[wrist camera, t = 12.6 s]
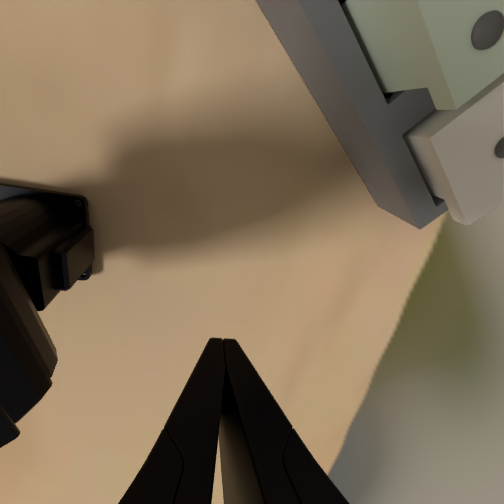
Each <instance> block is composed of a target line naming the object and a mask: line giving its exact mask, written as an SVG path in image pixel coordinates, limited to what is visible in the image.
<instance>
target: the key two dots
mask: <svg viewBox="0 0 504 504" xmlns="http://www.w3.org/2000/svg"><path fill="white" fill-rule="evenodd" d="M340 6H341V8H342V10H343V12H344V14H345V16H346V18H347V20H348V22H349V25H350V27H351V29H352V31H353V33H354V35H355V37H356V39H357V41H358V43H359V46H360V48H361V50H362V52H363V54H364V56H365V58H366V60H367V62H368V64H369V67H370V69H371V71H372V73H373V75H374V77H375V79H376V81H377V83H378V86H379V88H380V90H381V92H382V93H388V92H396V91H403V90H411V89H418V88H426V87H428V90H429V92H430V95H431V97H432V100H433V102H434V105H435V108H436V110H457V109H458V108H459V107H460V106H462V105H463V104H464V103H466V102H467V101H468V100H470V99H471V98H472V97H473V96H475V95H476V94H477V93H479V92H480V91H481V90H483V89H484V88H485V87H486V86H488V85H489V84H490V83H492V82H493V81H494V80H496V79H497V78H498V77H499V76H501V75H502V74H503V73H504V0H346V1H344V2H343V3H342V4H341V5H340Z"/></svg>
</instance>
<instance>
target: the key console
mask: <svg viewBox="0 0 504 504" xmlns="http://www.w3.org/2000/svg"><path fill="white" fill-rule="evenodd" d="M256 2H257V3H258V5H259V7H260V8H261V10H262V12H263V13H264V15H265V17H266V18H267V20H268V22H269V24H270V25H271V27H272V29H273V30H274V32H275V34H276V35H277V37H278V39H279V40H280V42H281V44H282V45H283V47H284V49H285V50H286V52H287V54H288V56H289V57H290V59H291V61H292V62H293V64H294V66H295V67H296V69H297V71H298V72H299V74H300V76H301V77H302V79H303V81H304V82H305V84H306V86H307V88H308V89H309V91H310V93H311V94H312V96H313V98H314V99H315V101H316V103H317V104H318V106H319V108H320V109H321V111H322V113H323V114H324V116H325V118H326V120H327V121H328V123H329V125H330V126H331V128H332V130H333V131H334V133H335V135H336V136H337V138H338V140H339V141H340V143H341V145H342V146H343V148H344V150H345V152H346V153H347V155H348V157H349V158H350V160H351V162H352V163H353V165H354V167H355V168H356V170H357V172H358V173H359V175H360V177H361V178H362V180H363V182H364V183H365V185H366V187H367V189H368V190H369V192H370V194H371V195H372V197H373V199H374V200H375V202H376V204H377V205H378V206H379V207H380V208H382V209H384V210H386V211H388V212H389V213H391V214H393V215H395V216H397V217H398V218H400V219H402V220H404V221H406V222H407V223H409V224H411V225H413V226H415V227H417V228H418V229H421V228H423V227H424V226H426V225H427V224H429V223H430V222H431V221H433V220H434V219H436V218H437V217H439V216H440V215H441V214H443V213H444V212H446V211H447V210H449V209H448V207H447V205H446V203H445V200H444V199H442V198H439V197H436V196H433V195H431V194H430V193H429V191H428V189H427V186H426V184H425V182H424V180H423V178H422V176H421V174H420V172H419V170H418V168H417V165H416V163H415V161H414V159H413V157H412V155H411V153H410V151H409V149H408V146H407V144H406V142H405V140H404V138H403V136H402V135H403V134H404V133H405V132H407V131H408V130H409V129H411V128H412V127H413V126H414V125H416V124H417V123H418V122H419V121H421V120H422V119H423V118H425V117H426V116H427V115H428V114H430V113H431V112H432V111H434V110H435V109H436V108H435V105H434V102H433V100H432V97H431V95H430V92H429V90H428V87H426V88H418V89H411V90H403V91H396V92H393V93H392V94H391V95H390V96H388V97H387V98H386V99H385V98H384V96H383V94H382V92H381V90H380V88H379V86H378V83H377V81H376V79H375V77H374V75H373V73H372V71H371V69H370V67H369V64H368V62H367V60H366V58H365V56H364V54H363V52H362V50H361V48H360V46H359V43H358V41H357V39H356V37H355V35H354V33H353V31H352V29H351V27H350V25H349V22H348V20H347V18H346V16H345V14H344V12H343V10H342V8H341V6H340V4H339V1H338V0H256Z"/></svg>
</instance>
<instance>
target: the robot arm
mask: <svg viewBox="0 0 504 504" xmlns="http://www.w3.org/2000/svg"><path fill="white" fill-rule="evenodd" d="M76 200H78V201H80V202H81V204H82V205H81V206H79V205H77V204H76ZM94 259H95V256H94V237H93V229H92V227H91V226H89V213H88V202H87V200H86V198H85V197H83V196H81V195H76V194H70V193H63V192H56V191H49V190H42V189H35V188H28V187H21V186H15V185H8V184H1V183H0V448H1V447H2V446H4V445H6V444H8V443H9V442H11V441H13V440H14V439H16V438H17V437H18V436H19V434H20V430H19V429H18V428H17V426H16V425H15V424H16V423H17V422H18V421H19V420H20V419H22V418H23V417H24V416H25V415H26V414H27V413H28V412H29V411H30V410H31V409H32V408H33V407H34V406H35V405H36V404H37V403H38V402H39V401H40V400H41V399H42V398H43V396H44V395H45V394H46V392H47V391H48V390H49V388H50V387H51V385H52V381H51V379H50V378H51V377H52V375H53V372H54V369H55V366H56V364H57V361H58V359H57V353H56V348H55V346H54V344H53V342H52V340H51V338H50V336H49V334H48V332H47V330H46V328H45V326H44V324H43V322H42V320H41V318H40V316H39V314H38V312H37V311H42V310H44V309H45V308H46V307H47V305H48V304H49V303H50V302H51V301H52V300H53V299H54V298H55V296H56V295H57V294H58V293H59V292H60V291H67V290H68V289H70V288H71V287H72V286H73V285H74V283H75V282H76V281H77V280H87V279H89V277H90V276H91V275H92V266H91V263H92V262H93V261H94ZM83 273H86V275H83ZM218 435H219V447H220V459H221V472H222V485H223V498H224V504H349V502H348V501H347V500H346V499H345V497H344V496H343V495H342V494H341V493H340V491H339V490H338V489H337V487H336V486H335V485H334V484H333V482H332V481H331V480H330V479H329V477H328V476H327V475H326V473H325V472H324V471H323V469H322V468H321V467H320V465H319V464H318V463H317V461H316V460H315V459H314V457H313V456H312V454H311V453H310V452H309V450H308V449H307V447H306V446H305V444H304V443H303V441H302V440H301V438H300V437H299V435H298V434H297V432H296V431H295V429H292V425H291V423H290V422H289V420H288V419H287V417H286V416H285V414H284V412H283V411H282V409H281V408H280V406H279V405H278V403H277V402H276V400H275V399H274V397H273V396H272V394H271V393H270V391H269V390H268V388H267V386H266V385H265V383H264V382H263V380H262V379H261V377H260V376H259V374H258V373H257V371H256V370H255V368H254V367H253V365H252V363H251V362H250V360H249V359H248V357H247V356H246V354H245V353H244V351H243V350H242V348H241V347H240V345H239V344H238V342H237V341H236V340H235V339H227V338H225V339H223V340H222V338H210V339H209V341H208V343H207V344H206V346H205V348H204V350H203V352H202V354H201V356H200V358H199V360H198V362H197V364H196V366H195V368H194V370H193V372H192V374H191V375H190V377H189V379H188V381H187V383H186V385H185V387H184V389H183V391H182V393H181V395H180V397H179V399H178V401H177V403H176V405H175V406H174V408H173V410H172V412H171V414H170V416H169V418H168V420H167V422H166V424H165V426H164V429H163V430H162V431H161V433H160V435H159V437H158V439H157V441H156V443H155V445H154V446H153V448H152V450H151V452H150V454H149V455H148V457H147V459H146V461H145V463H144V464H143V466H142V468H141V469H140V471H139V472H138V474H137V476H136V477H135V479H134V480H133V482H132V483H131V485H130V487H129V488H128V490H127V491H126V493H125V494H124V496H123V497H122V499H121V500H120V502H119V503H118V504H211V501H212V492H213V482H214V473H215V464H216V454H217V445H218Z"/></svg>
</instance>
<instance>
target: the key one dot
mask: <svg viewBox="0 0 504 504" xmlns="http://www.w3.org/2000/svg"><path fill="white" fill-rule="evenodd" d="M402 136H403V138H404V140H405V142H406V144H407V146H408V149H409V151H410V153H411V155H412V157H413V159H414V161H415V163H416V165H417V168H418V170H419V172H420V174H421V176H422V178H423V180H424V182H425V184H426V186H427V189H428V191H429V193H430V194H431V195H433V196H436V197H439V198H442V199H444V200H445V203H446V205H447V207H448V209H449V211H450V213H451V216H452V218H453V220H455V221H457V222H460V223H462V224H464V225H467V226H468V225H470V224H472V223H473V222H475V221H476V220H477V219H479V218H480V217H482V216H483V215H485V214H486V213H488V212H489V211H491V210H492V209H494V208H495V207H497V206H498V205H500V204H501V203H503V202H504V73H503V74H502V75H501V76H499V77H498V78H497V79H496V80H494V81H493V82H492V83H490V84H489V85H488V86H486V87H485V88H484V89H483V90H481V91H480V92H479V93H477V94H476V95H475V96H473V97H472V98H471V99H470V100H468V101H467V102H466V103H464V104H463V105H462V106H460V107H459V108H458V109H457V110H436V109H435V110H434V111H432V112H431V113H430V114H428V115H427V116H426V117H425V118H423V119H422V120H421V121H419V122H418V123H417V124H416V125H414V126H413V127H412V128H411V129H409V130H408V131H407V132H405V133H404V134H403V135H402Z"/></svg>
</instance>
